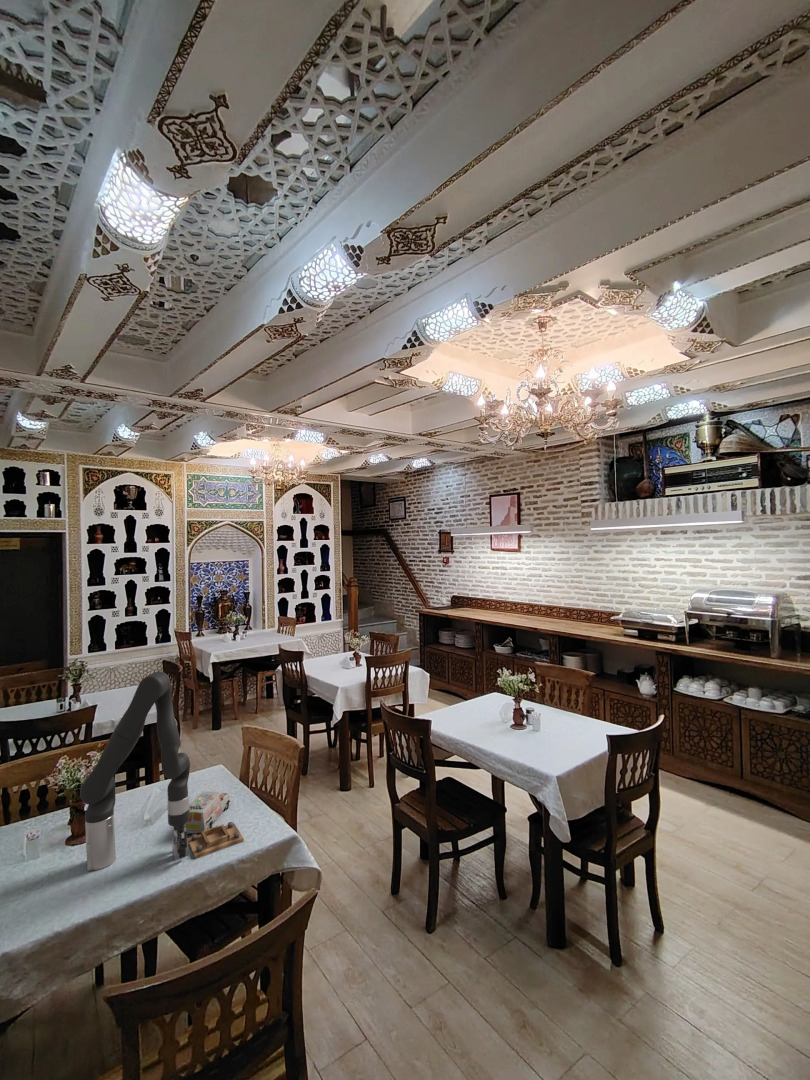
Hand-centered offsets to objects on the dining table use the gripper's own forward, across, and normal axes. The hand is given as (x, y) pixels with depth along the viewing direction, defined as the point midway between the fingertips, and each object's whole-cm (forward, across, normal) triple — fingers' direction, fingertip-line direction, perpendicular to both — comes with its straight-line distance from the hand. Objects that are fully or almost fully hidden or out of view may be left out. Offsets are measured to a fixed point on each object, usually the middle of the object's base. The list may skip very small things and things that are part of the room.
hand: (180, 852), depth 193 cm
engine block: (+1, 0, 0) cm, 1 cm away
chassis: (+1, -1, +13) cm, 13 cm away
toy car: (+1, -20, +14) cm, 24 cm away
